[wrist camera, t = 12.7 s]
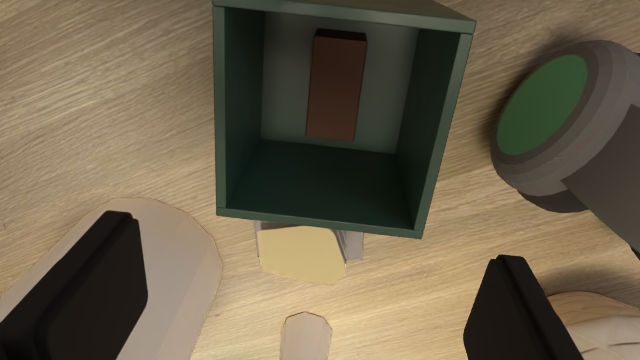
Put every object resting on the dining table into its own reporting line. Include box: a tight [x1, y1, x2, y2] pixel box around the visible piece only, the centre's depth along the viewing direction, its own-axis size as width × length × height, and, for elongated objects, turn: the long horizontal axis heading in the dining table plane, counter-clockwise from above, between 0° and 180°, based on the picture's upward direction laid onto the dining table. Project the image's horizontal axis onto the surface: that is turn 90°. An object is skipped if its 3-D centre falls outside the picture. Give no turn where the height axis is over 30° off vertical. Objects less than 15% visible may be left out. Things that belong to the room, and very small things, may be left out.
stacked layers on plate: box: [254, 220, 363, 285], centre depth 36 cm, size 10×9×6 cm
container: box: [0, 198, 223, 360], centre depth 34 cm, size 14×14×18 cm
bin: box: [212, 0, 477, 239], centre depth 27 cm, size 12×12×12 cm
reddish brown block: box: [305, 28, 368, 141], centre depth 30 cm, size 7×4×4 cm, turn 175°
